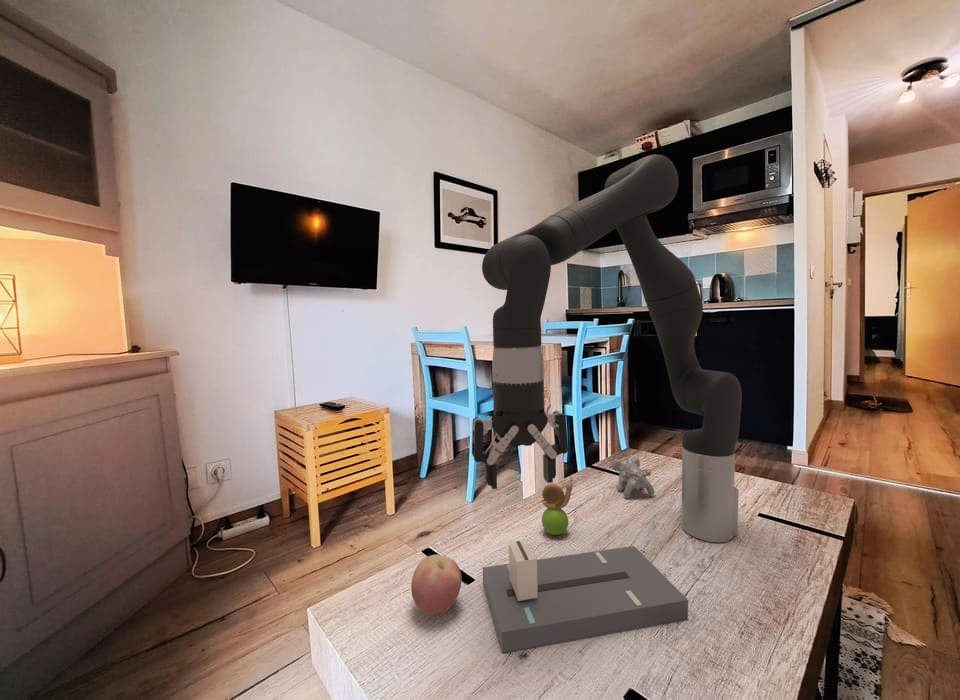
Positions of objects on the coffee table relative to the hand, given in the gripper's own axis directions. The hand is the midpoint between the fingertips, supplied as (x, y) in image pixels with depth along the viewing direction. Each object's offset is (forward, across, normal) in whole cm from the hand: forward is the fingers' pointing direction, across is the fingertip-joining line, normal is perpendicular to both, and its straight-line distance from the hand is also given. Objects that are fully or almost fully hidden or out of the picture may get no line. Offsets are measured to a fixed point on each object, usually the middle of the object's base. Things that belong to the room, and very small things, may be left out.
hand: (520, 483), depth 59 cm
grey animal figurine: (+20, -38, -34) cm, 55 cm away
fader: (+16, 0, 0) cm, 16 cm away
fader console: (+20, -9, 0) cm, 22 cm away
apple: (+20, +13, -3) cm, 24 cm away
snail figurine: (+20, -13, -19) cm, 31 cm away
